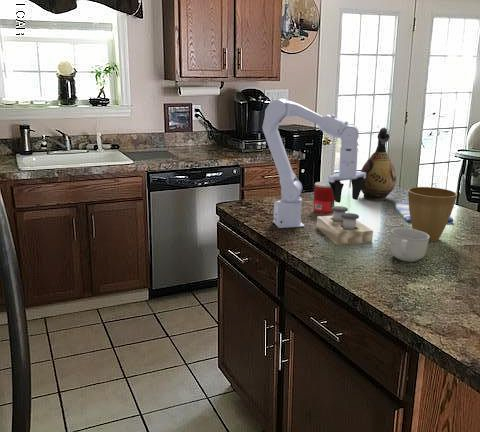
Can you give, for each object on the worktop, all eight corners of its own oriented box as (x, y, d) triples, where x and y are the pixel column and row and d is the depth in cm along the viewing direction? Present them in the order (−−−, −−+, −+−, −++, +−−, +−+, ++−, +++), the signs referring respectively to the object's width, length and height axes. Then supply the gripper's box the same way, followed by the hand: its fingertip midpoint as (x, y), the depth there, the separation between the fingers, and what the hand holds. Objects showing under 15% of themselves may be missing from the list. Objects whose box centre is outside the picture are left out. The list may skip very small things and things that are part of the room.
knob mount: (336, 244, 166) (337, 232, 165) (316, 227, 184) (317, 216, 183) (372, 242, 169) (373, 230, 168) (348, 225, 187) (349, 214, 186)
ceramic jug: (395, 203, 217) (402, 131, 209) (357, 201, 220) (362, 129, 212) (392, 194, 234) (398, 126, 225) (357, 192, 236) (362, 125, 228)
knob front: (344, 231, 168) (345, 218, 167) (337, 226, 173) (338, 213, 172) (360, 230, 169) (361, 217, 168) (353, 225, 174) (354, 212, 173)
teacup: (397, 249, 163) (399, 224, 161) (432, 257, 156) (435, 232, 154) (377, 261, 152) (380, 235, 150) (414, 270, 146) (417, 243, 144)
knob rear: (334, 223, 177) (334, 210, 175) (328, 219, 182) (328, 206, 181) (349, 222, 178) (350, 210, 176) (343, 218, 183) (344, 205, 182)
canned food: (335, 214, 201) (337, 186, 198) (314, 213, 201) (315, 185, 198) (332, 208, 209) (334, 181, 206) (312, 208, 209) (313, 181, 206)
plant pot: (446, 248, 164) (452, 199, 159) (398, 240, 171) (403, 192, 167) (454, 236, 176) (460, 189, 172) (409, 229, 183) (414, 184, 179)
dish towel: (437, 208, 213) (437, 202, 212) (454, 225, 190) (455, 218, 189) (393, 207, 214) (394, 200, 213) (405, 224, 191) (406, 216, 191)
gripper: (338, 165, 170) (336, 205, 174) (373, 161, 176) (370, 200, 180) (325, 161, 176) (323, 201, 180) (359, 158, 182) (357, 196, 186)
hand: (346, 200), depth 180 cm, fingers open, 7 cm apart
